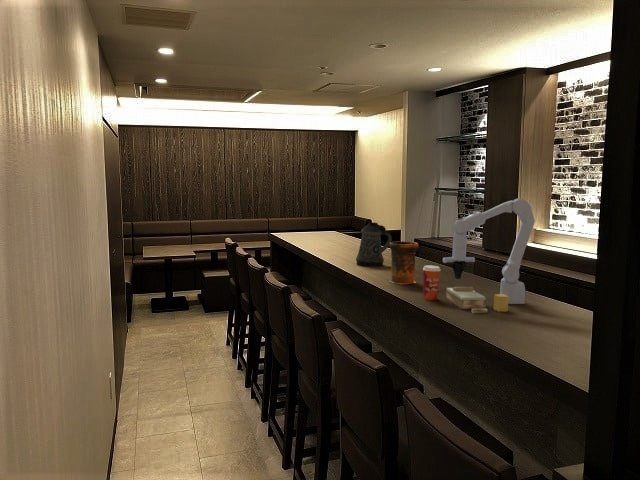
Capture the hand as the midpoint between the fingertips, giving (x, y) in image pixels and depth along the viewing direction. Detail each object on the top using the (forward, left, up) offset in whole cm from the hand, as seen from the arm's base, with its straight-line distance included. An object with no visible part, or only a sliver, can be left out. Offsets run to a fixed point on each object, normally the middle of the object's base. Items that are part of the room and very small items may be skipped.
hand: (457, 278), depth 229 cm
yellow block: (-11, +21, -9) cm, 25 cm away
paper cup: (+12, +1, -9) cm, 15 cm away
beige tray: (0, +13, -9) cm, 15 cm away
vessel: (+15, -35, -9) cm, 39 cm away
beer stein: (+20, -87, -9) cm, 90 cm away
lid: (0, +10, -5) cm, 11 cm away
